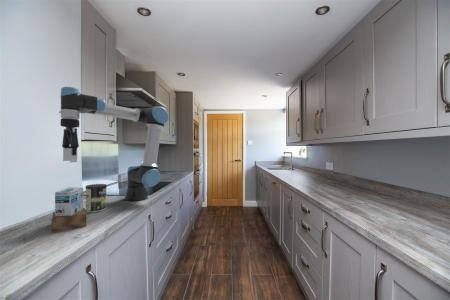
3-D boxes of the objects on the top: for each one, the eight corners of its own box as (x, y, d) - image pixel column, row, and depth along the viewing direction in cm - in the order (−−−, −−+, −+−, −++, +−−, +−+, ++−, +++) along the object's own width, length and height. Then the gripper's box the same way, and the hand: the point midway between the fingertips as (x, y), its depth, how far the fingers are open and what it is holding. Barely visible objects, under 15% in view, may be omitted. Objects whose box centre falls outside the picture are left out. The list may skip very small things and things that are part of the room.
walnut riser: (84, 219, 103) (84, 207, 103) (86, 226, 93) (86, 213, 93) (53, 224, 95) (53, 211, 95) (51, 233, 86) (51, 219, 86)
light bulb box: (71, 216, 90) (71, 191, 90) (54, 216, 89) (54, 192, 89) (83, 208, 100) (83, 186, 100) (68, 209, 99) (68, 187, 99)
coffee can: (110, 207, 123) (110, 183, 123) (99, 212, 112) (99, 187, 112) (93, 206, 123) (93, 183, 123) (80, 212, 113) (81, 186, 113)
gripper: (55, 120, 107) (54, 160, 108) (67, 115, 91) (66, 163, 91) (72, 121, 113) (72, 159, 113) (86, 117, 97) (86, 162, 97)
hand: (69, 161), depth 102 cm, fingers open, 13 cm apart
